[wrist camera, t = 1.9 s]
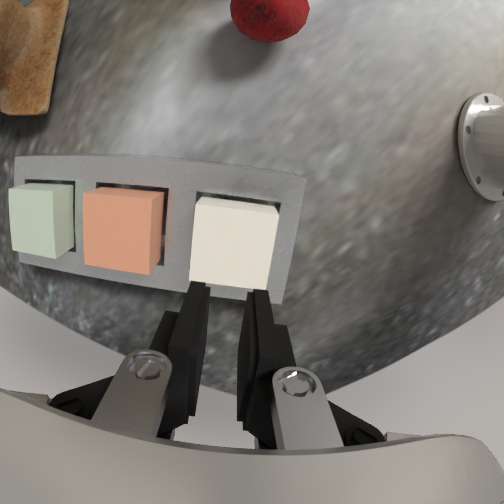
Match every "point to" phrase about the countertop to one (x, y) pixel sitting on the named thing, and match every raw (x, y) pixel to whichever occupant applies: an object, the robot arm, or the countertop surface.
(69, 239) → the sage key
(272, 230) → the cream key
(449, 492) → the robot arm
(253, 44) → the countertop surface
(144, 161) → the keypad housing
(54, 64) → the brown hollow boot-shaped piece
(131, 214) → the terracotta key
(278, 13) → the onion
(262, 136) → the countertop surface
